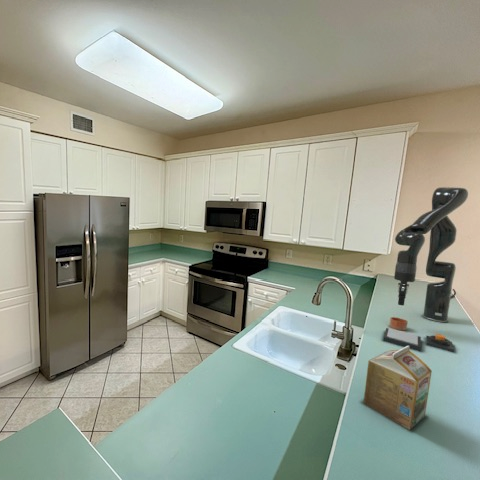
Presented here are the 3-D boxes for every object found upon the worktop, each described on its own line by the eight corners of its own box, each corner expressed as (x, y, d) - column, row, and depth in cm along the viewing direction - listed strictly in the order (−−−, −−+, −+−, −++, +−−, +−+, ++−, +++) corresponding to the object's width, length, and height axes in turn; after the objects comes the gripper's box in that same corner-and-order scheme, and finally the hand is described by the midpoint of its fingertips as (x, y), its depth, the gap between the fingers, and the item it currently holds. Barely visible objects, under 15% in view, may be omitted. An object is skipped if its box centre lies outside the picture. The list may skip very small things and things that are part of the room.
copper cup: (389, 324, 134) (390, 316, 133) (406, 328, 129) (407, 320, 128) (388, 328, 129) (390, 319, 129) (406, 332, 125) (407, 323, 124)
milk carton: (409, 430, 67) (419, 364, 65) (363, 403, 76) (370, 344, 74) (424, 416, 72) (434, 354, 70) (379, 392, 81) (386, 337, 79)
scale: (385, 331, 125) (386, 326, 125) (420, 340, 116) (420, 335, 116) (383, 341, 115) (383, 335, 115) (420, 351, 107) (421, 346, 106)
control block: (426, 338, 119) (426, 332, 119) (451, 344, 113) (452, 338, 113) (426, 345, 112) (427, 339, 112) (453, 352, 106) (454, 346, 106)
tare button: (434, 337, 115) (435, 333, 114) (444, 339, 112) (445, 335, 112) (435, 339, 113) (435, 335, 112) (445, 341, 110) (445, 338, 110)
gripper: (415, 274, 118) (411, 309, 120) (415, 270, 128) (411, 302, 130) (394, 272, 123) (390, 305, 125) (395, 268, 133) (392, 298, 135)
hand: (401, 303), depth 128 cm, fingers open, 4 cm apart
